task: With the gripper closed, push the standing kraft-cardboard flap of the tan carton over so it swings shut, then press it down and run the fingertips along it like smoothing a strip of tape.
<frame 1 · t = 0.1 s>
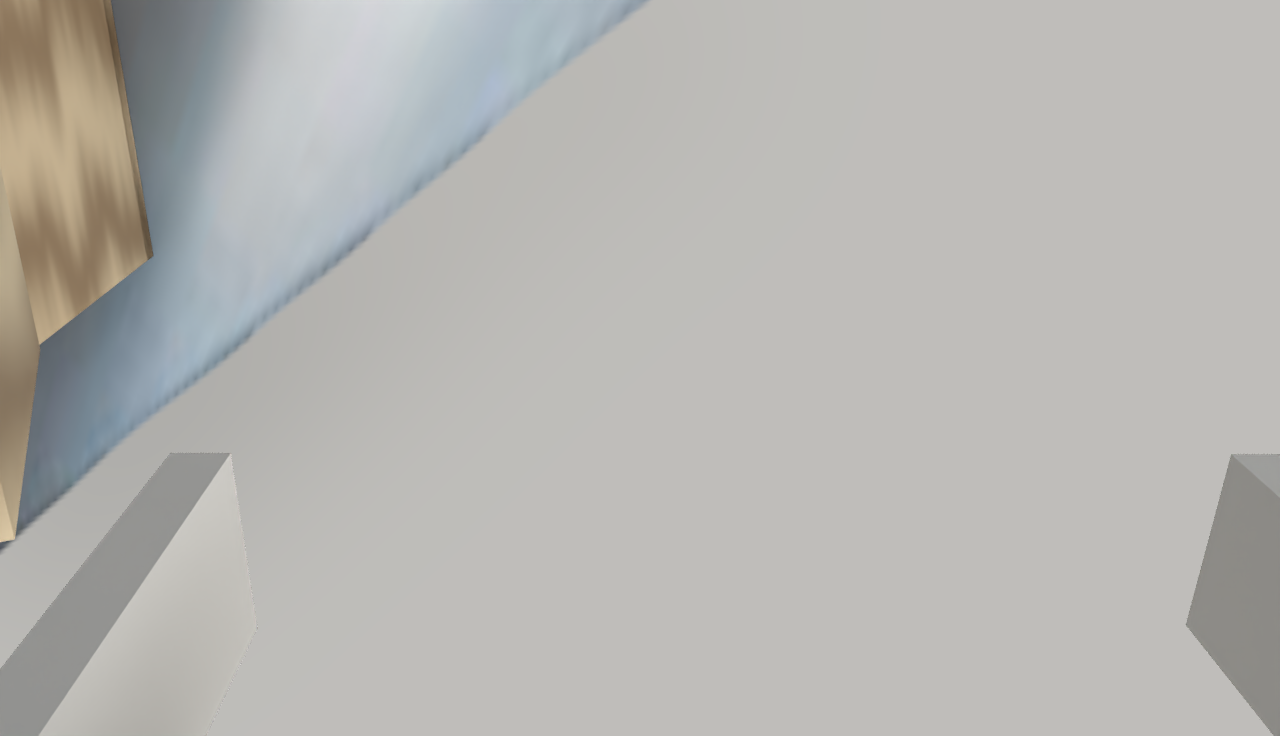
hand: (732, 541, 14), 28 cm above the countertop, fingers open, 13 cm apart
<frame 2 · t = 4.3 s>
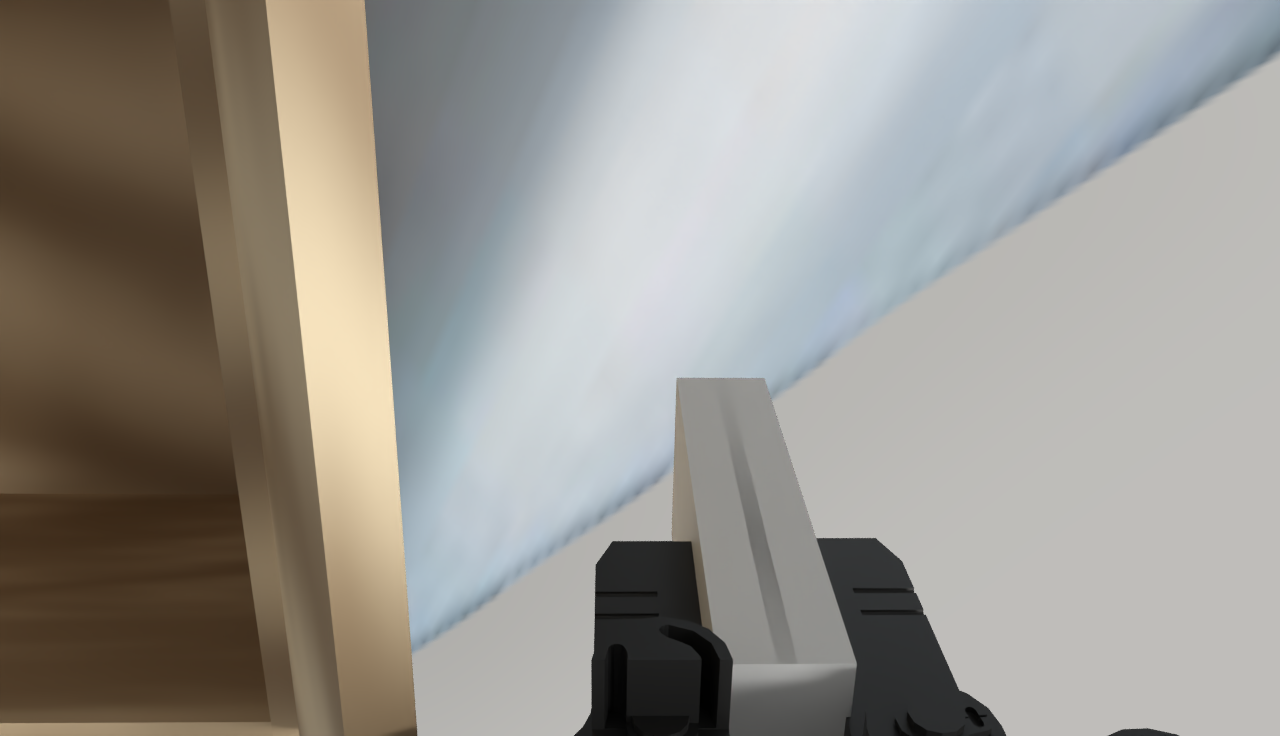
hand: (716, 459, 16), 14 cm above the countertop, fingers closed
flap: (311, 529, 14), point 16 cm above the countertop, hinge at 110.5°, touching gripper
carton: (132, 205, 28), on the countertop
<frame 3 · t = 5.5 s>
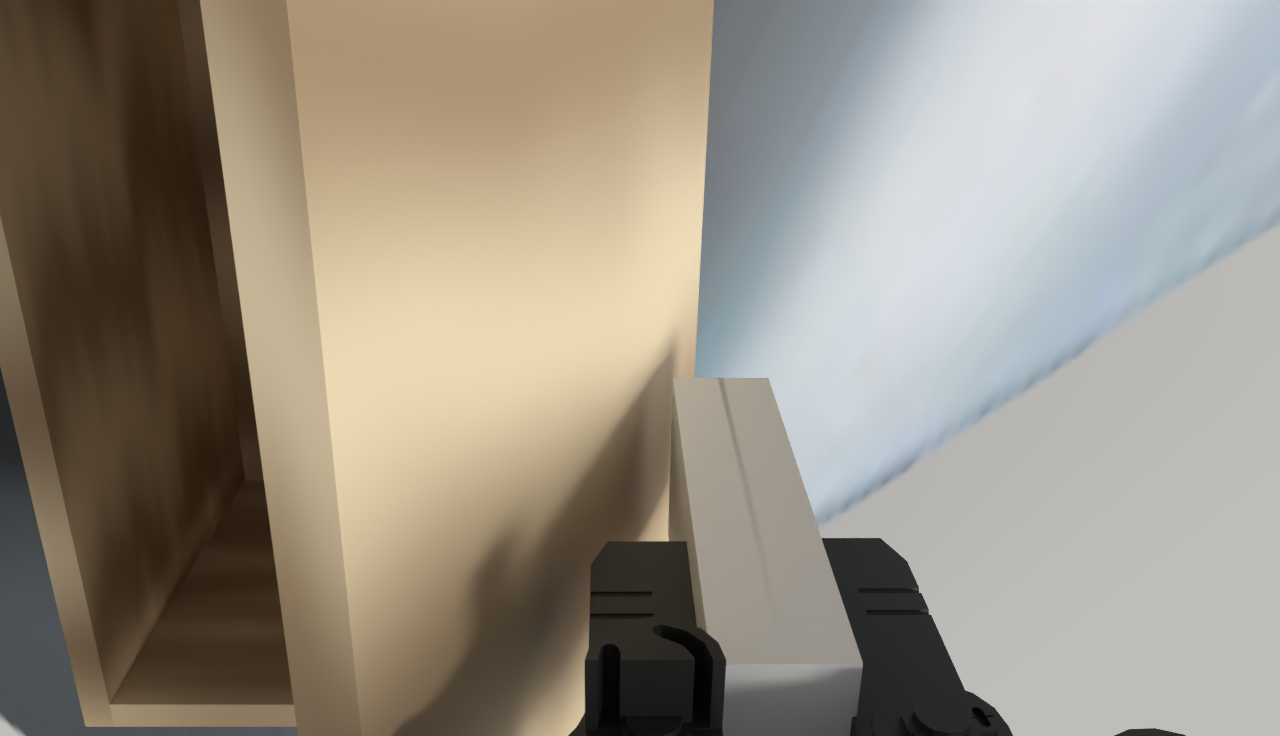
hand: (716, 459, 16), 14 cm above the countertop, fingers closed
flap: (569, 521, 14), point 16 cm above the countertop, hinge at 71.5°, touching gripper, hand
carton: (419, 194, 29), on the countertop
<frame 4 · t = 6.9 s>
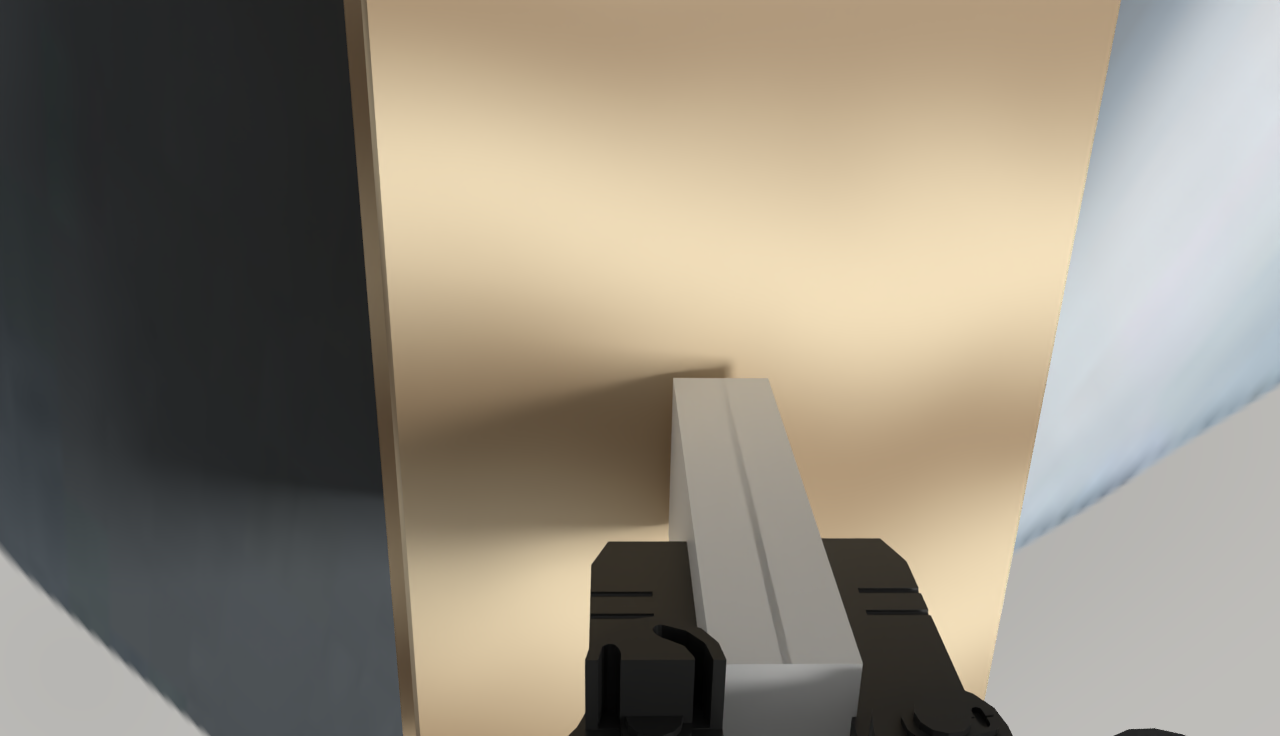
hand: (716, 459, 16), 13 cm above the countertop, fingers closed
flap: (749, 420, 17), point 12 cm above the countertop, hinge at 17.9°, touching gripper
carton: (671, 211, 29), on the countertop
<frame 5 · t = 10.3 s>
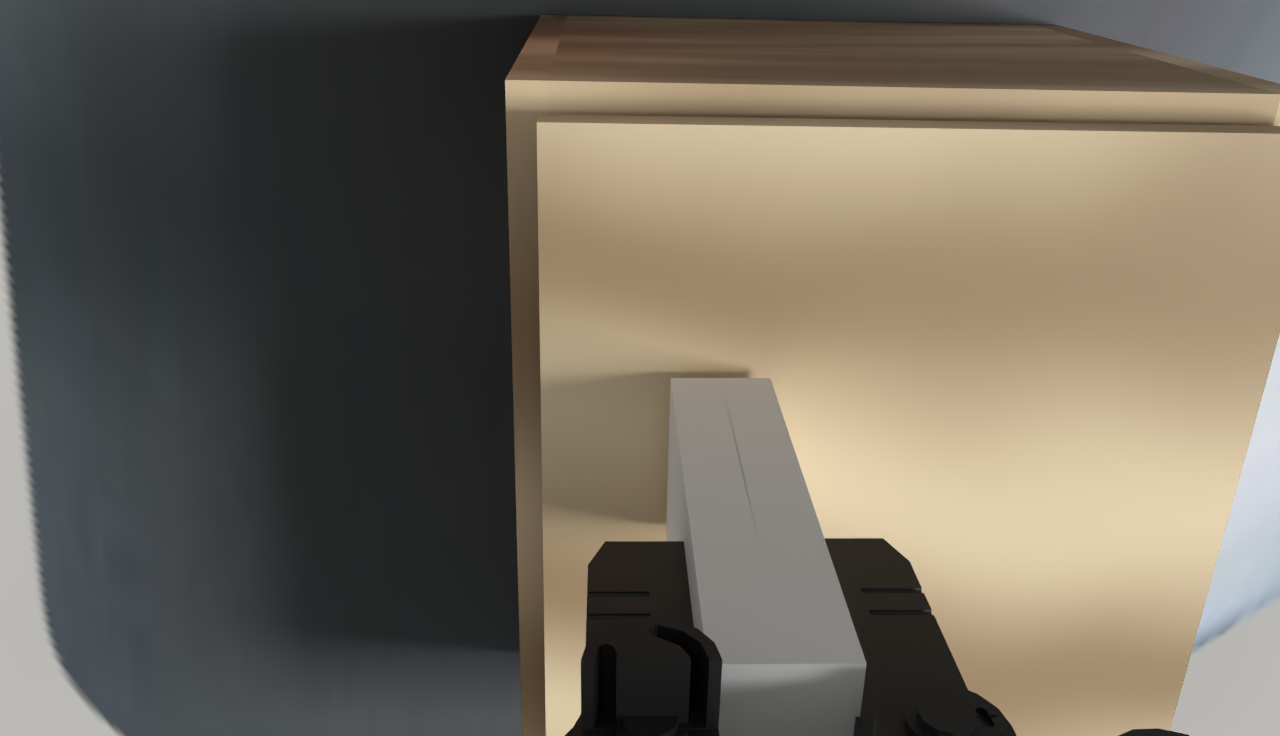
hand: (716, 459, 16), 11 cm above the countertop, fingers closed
flap: (870, 626, 19), point 11 cm above the countertop, hinge at 0.5°
carton: (774, 376, 28), on the countertop
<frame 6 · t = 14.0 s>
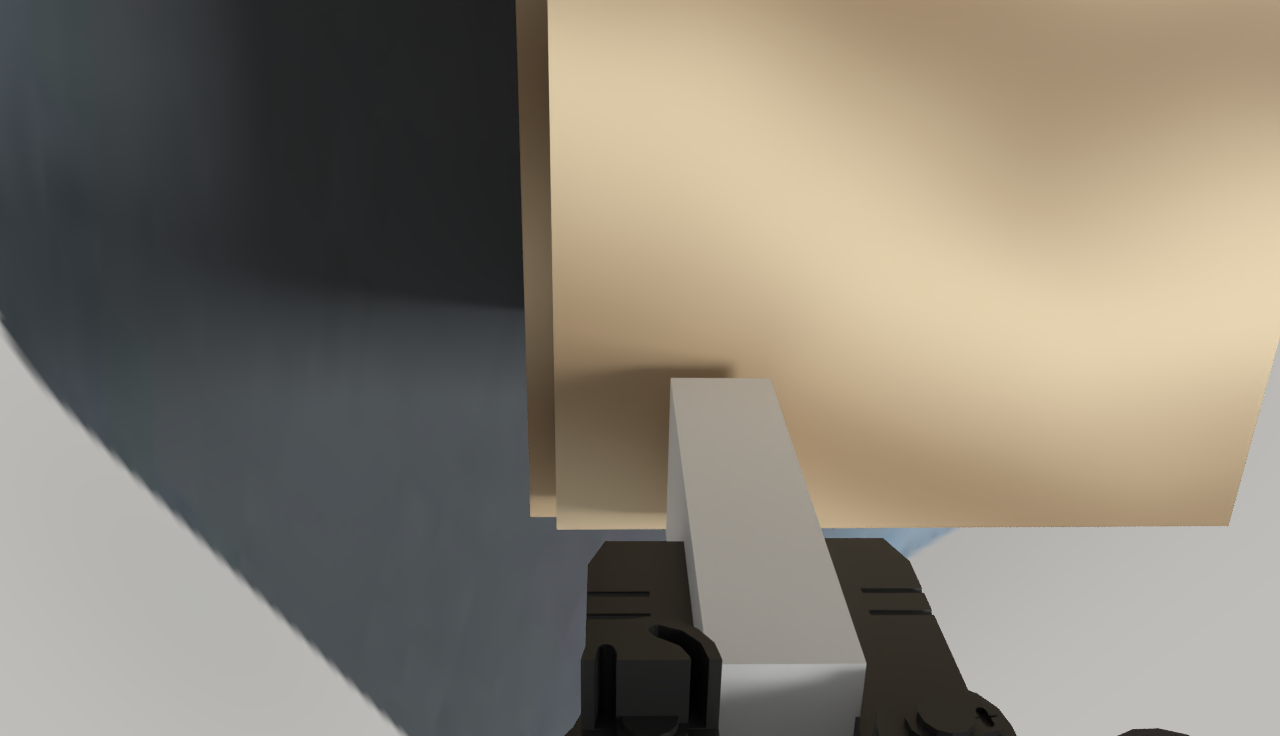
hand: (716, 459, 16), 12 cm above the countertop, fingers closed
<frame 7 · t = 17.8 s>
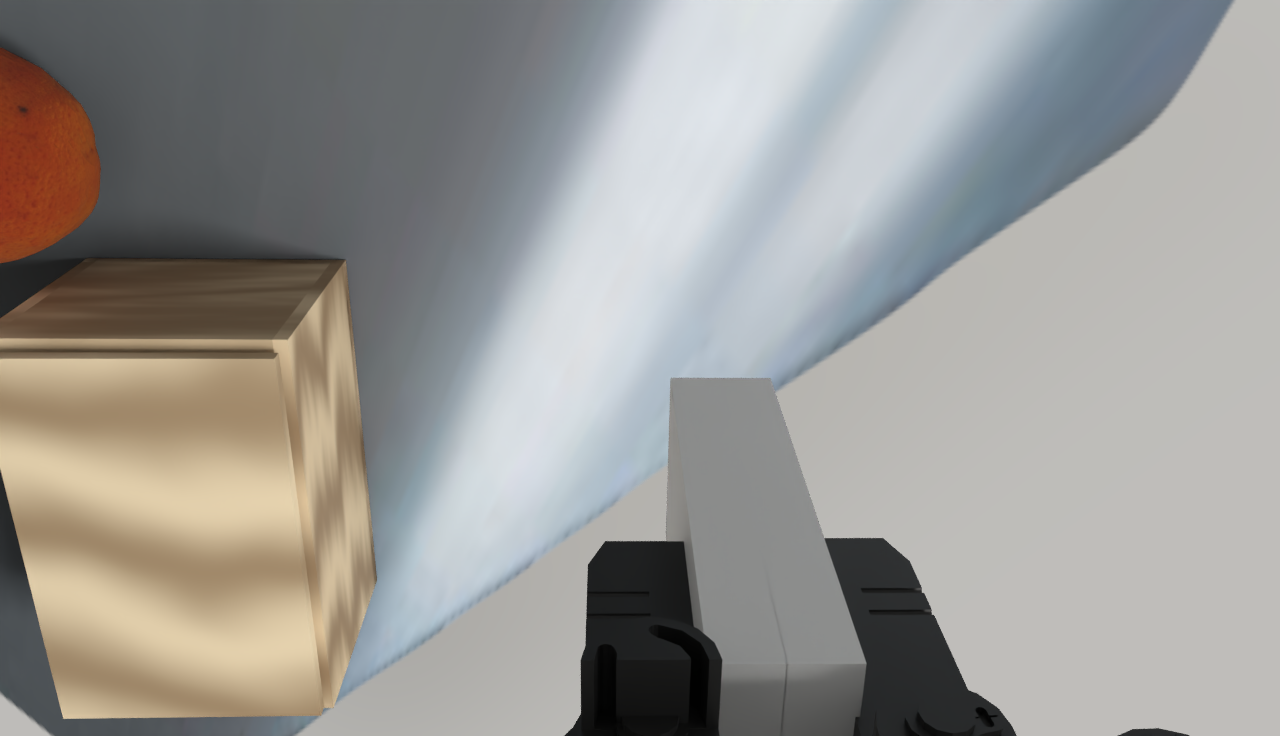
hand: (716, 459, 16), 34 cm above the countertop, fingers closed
flap: (163, 547, 44), point 11 cm above the countertop, hinge at 0.5°
fruit: (28, 135, 48), on the countertop
carton: (242, 430, 54), on the countertop
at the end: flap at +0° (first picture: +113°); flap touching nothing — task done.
